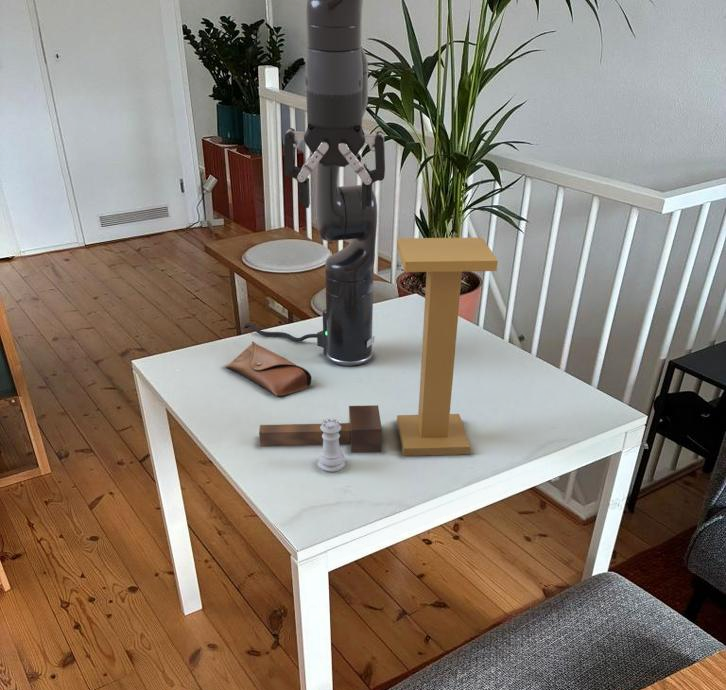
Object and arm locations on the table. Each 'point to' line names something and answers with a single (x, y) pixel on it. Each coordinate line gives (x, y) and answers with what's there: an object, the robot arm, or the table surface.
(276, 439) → the walnut mallet
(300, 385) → the sunglasses case
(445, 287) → the pedestal
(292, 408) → the table surface
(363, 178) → the robot arm
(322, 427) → the rook chess piece
